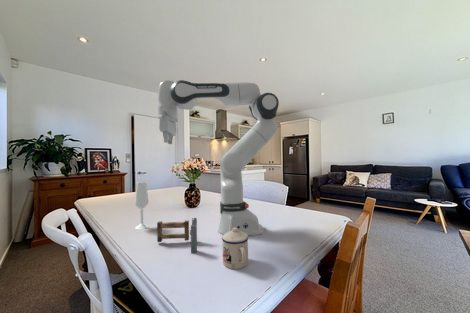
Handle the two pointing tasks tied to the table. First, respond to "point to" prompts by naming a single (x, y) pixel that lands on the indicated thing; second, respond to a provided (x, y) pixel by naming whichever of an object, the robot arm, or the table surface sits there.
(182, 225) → the gate
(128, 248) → the table surface
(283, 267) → the table surface
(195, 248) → the posts
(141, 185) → the champagne flute
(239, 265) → the teacup with lid
